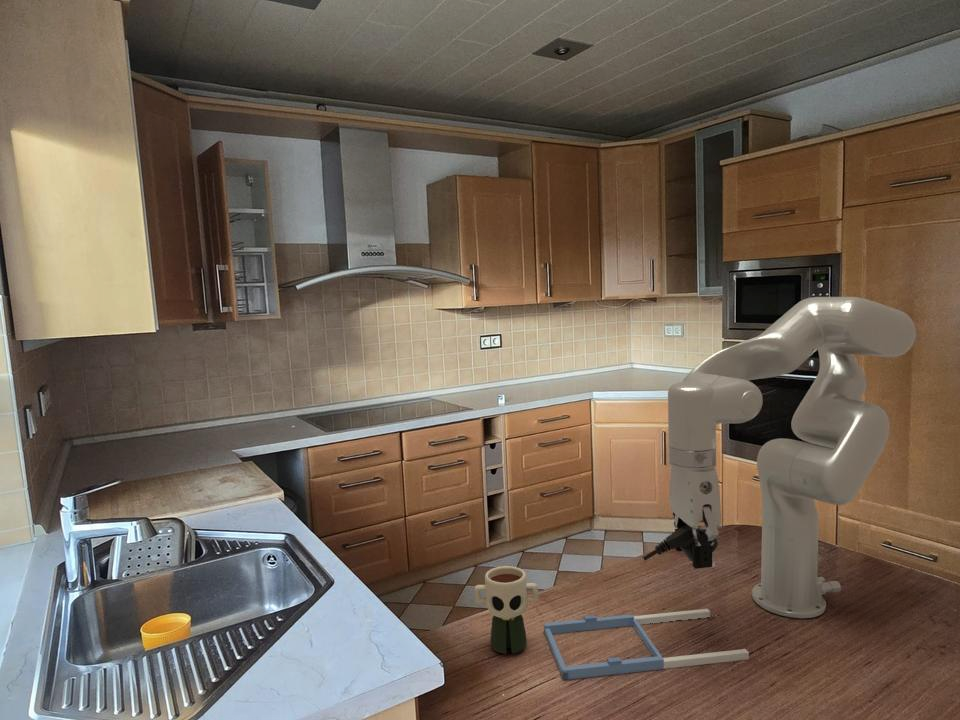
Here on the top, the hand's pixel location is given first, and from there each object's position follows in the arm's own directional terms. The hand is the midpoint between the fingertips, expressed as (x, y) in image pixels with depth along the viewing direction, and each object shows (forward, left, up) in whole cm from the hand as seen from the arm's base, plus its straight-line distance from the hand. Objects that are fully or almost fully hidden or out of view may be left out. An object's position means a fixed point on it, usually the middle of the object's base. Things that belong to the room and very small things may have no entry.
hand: (693, 557), depth 105 cm
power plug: (+2, -1, -1) cm, 3 cm away
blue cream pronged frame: (+9, 0, -15) cm, 18 cm away
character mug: (+32, -3, -15) cm, 35 cm away
